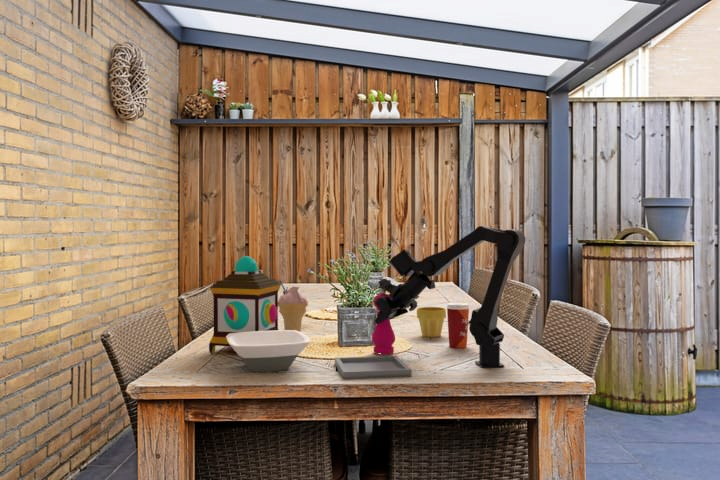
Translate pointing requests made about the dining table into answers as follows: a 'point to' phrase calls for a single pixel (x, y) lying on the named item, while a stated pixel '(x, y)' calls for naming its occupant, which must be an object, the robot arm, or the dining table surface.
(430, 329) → the plant pot
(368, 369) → the slate tray
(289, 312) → the ice cream cone
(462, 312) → the paper cup
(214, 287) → the decorative lantern
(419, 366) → the dining table surface
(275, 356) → the bowl
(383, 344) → the pepper mill
